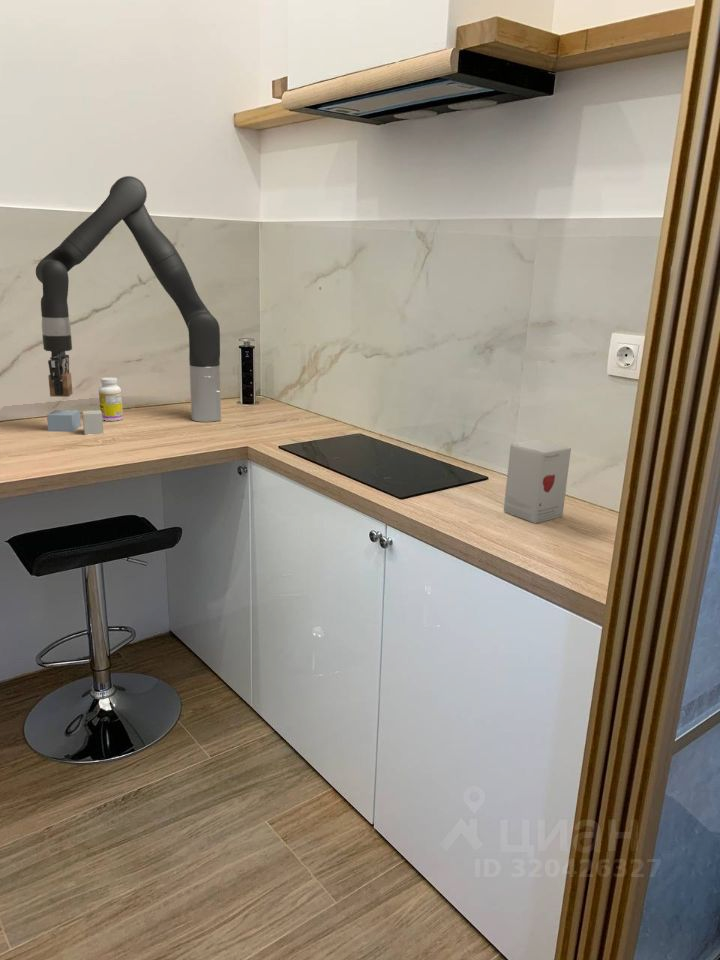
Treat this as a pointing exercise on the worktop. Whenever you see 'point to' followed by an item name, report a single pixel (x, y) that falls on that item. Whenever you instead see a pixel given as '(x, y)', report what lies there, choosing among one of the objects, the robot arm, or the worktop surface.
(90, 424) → the grey block
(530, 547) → the worktop surface
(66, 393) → the walnut block
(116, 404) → the supplement bottle
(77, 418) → the base block
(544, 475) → the supplement box
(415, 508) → the worktop surface
